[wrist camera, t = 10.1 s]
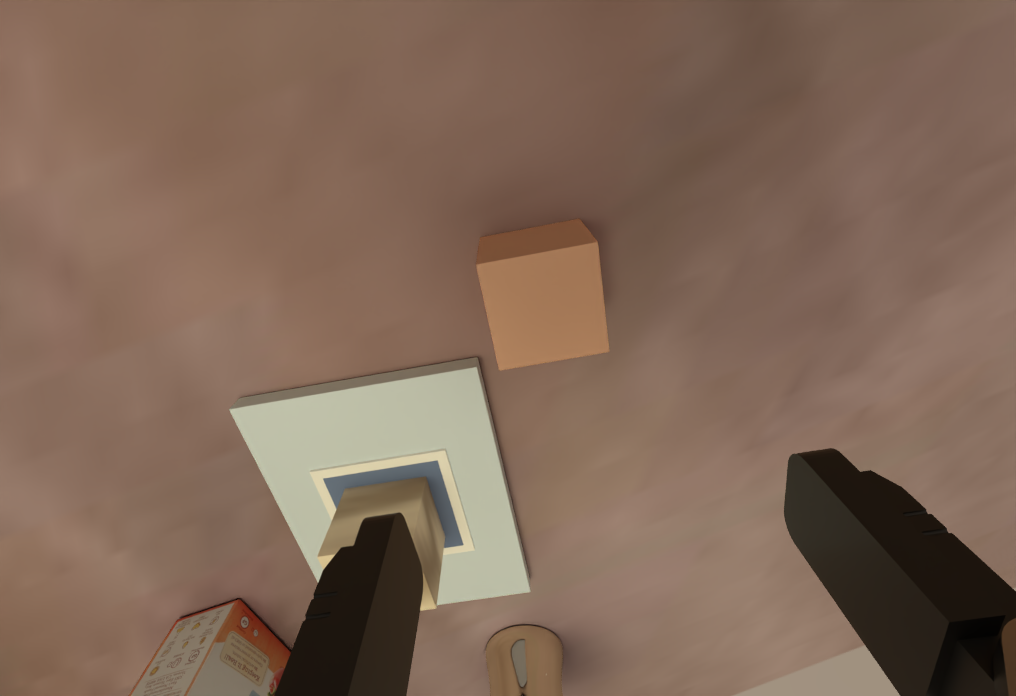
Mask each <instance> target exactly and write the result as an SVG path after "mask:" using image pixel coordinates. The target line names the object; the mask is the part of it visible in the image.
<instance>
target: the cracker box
mask: <svg viewBox="0 0 1016 696" xmlns="http://www.w3.org/2000/svg"><path fill="white" fill-rule="evenodd" d="M290 654H291V652H290V651H289V650H288V649H287V648H286V647H285V646H284V645H283V644H282V643H281V642H280V641H279V640H278V639H277V638H276V637H275V636H274V634H273V633H272V632H271V631H270V630H269V629H268V628H267V627H266V626H265V625H264V624H263V623H262V622H261V621H260V620H259V619H258V618H257V617H256V616H255V615H254V614H253V613H252V611H251V610H250V609H249V608H248V607H247V606H246V605H245V604H244V603H243V602H242V601H241V600H239V599H238V600H235V601H232V602H229V603H226V604H223V605H220V606H217V607H214V608H211V609H208V610H205V611H202V612H199V613H196V614H193V615H190V616H187V617H184V618H181V619H178V620H177V621H176V622H175V624H174V625H173V627H172V628H171V630H170V631H169V633H168V634H167V636H166V637H165V639H164V640H163V642H162V644H161V645H160V647H159V648H158V650H157V651H156V653H155V655H154V656H153V658H152V659H151V661H150V662H149V664H148V666H147V667H146V669H145V670H144V672H143V673H142V675H141V677H140V678H139V680H138V681H137V683H136V684H135V686H134V687H133V689H132V691H131V692H130V694H129V695H128V696H274V695H275V692H276V689H277V687H278V684H279V682H280V679H281V677H282V674H283V672H284V669H285V666H286V664H287V661H288V659H289V656H290Z"/></svg>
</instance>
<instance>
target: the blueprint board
mask: <svg viewBox="0 0 1016 696" xmlns="http://www.w3.org/2000/svg"><path fill="white" fill-rule="evenodd" d="M229 410H230V412H231V414H232V416H233V418H234V420H235V422H236V424H237V426H238V428H239V430H240V432H241V434H242V436H243V437H244V439H245V441H246V443H247V445H248V447H249V449H250V451H251V453H252V455H253V457H254V459H255V461H256V463H257V465H258V467H259V469H260V471H261V473H262V474H263V476H264V478H265V480H266V482H267V484H268V486H269V488H270V490H271V492H272V494H273V496H274V498H275V500H276V502H277V504H278V506H279V508H280V509H281V511H282V513H283V515H284V517H285V519H286V521H287V523H288V525H289V527H290V529H291V531H292V533H293V535H294V537H295V539H296V541H297V543H298V545H299V546H300V548H301V550H302V552H303V554H304V556H305V558H306V560H307V562H308V564H309V566H310V568H311V570H312V572H313V574H314V576H315V578H316V580H317V581H318V582H319V579H320V577H321V574H322V572H323V568H322V566H321V564H320V562H319V560H318V558H317V556H318V553H319V551H320V548H321V546H322V544H323V541H324V539H325V536H326V534H327V531H328V529H329V527H330V524H331V522H332V519H333V517H334V514H335V512H336V510H337V507H338V505H339V502H340V500H341V497H342V495H343V492H344V490H345V489H347V488H353V487H360V486H366V485H373V484H379V483H386V482H392V481H399V480H405V479H412V478H419V477H425V476H426V478H427V481H428V484H429V487H430V490H431V494H432V497H433V500H434V503H435V506H436V509H437V512H438V515H439V519H440V522H441V525H442V528H443V531H444V534H445V543H444V551H443V559H442V567H441V575H440V583H439V591H438V599H437V605H441V604H448V603H455V602H462V601H469V600H476V599H484V598H491V597H498V596H505V595H512V594H519V593H526V592H530V577H529V573H528V569H527V564H526V560H525V556H524V552H523V547H522V543H521V539H520V535H519V530H518V526H517V522H516V518H515V513H514V509H513V505H512V501H511V496H510V492H509V488H508V484H507V480H506V475H505V471H504V467H503V463H502V458H501V454H500V450H499V446H498V441H497V437H496V433H495V429H494V424H493V420H492V416H491V412H490V407H489V403H488V399H487V395H486V391H485V386H484V382H483V378H482V374H481V369H480V365H479V361H478V357H475V358H469V359H463V360H457V361H451V362H445V363H440V364H434V365H428V366H422V367H416V368H411V369H405V370H399V371H393V372H387V373H382V374H376V375H370V376H364V377H358V378H353V379H347V380H341V381H335V382H329V383H324V384H318V385H312V386H306V387H300V388H295V389H289V390H283V391H277V392H271V393H266V394H260V395H254V396H248V397H242V398H239V399H238V400H237V401H236V402H235V403H234V405H233V406H232V407H231V408H230V409H229Z"/></svg>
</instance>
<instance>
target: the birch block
mask: <svg viewBox="0 0 1016 696" xmlns="http://www.w3.org/2000/svg"><path fill="white" fill-rule="evenodd" d="M398 512H400V513H402V514H403V516H404V518H405V520H406V523H407V526H408V529H409V531H410V534H411V537H412V540H413V542H414V545H415V548H416V551H417V553H418V556H419V559H420V562H421V566H422V571H423V595H422V601H421V607H420V611H421V610H428V609H436V607H437V599H438V591H439V583H440V575H441V567H442V559H443V551H444V543H445V534H444V531H443V528H442V525H441V522H440V519H439V515H438V512H437V509H436V506H435V503H434V500H433V497H432V494H431V490H430V487H429V484H428V481H427V478H426V476H425V477H419V478H412V479H405V480H399V481H392V482H386V483H379V484H373V485H366V486H360V487H353V488H347V489H345V490H344V492H343V495H342V497H341V500H340V502H339V505H338V507H337V510H336V512H335V514H334V517H333V519H332V522H331V524H330V527H329V529H328V531H327V534H326V536H325V539H324V541H323V544H322V546H321V548H320V551H319V553H318V556H317V558H318V560H319V562H320V564H321V566H322V568H323V570H324V568H325V567H326V566H327V564H328V563H329V562H330V561H331V559H332V558H333V557H334V556H335V554H336V553H337V552H338V551H339V549H340V548H341V547H346V546H353V545H354V543H355V540H356V537H357V534H358V531H359V528H360V525H361V523H362V521H363V519H364V518H366V517H372V516H379V515H385V514H392V513H398Z"/></svg>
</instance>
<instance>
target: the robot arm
mask: <svg viewBox="0 0 1016 696" xmlns="http://www.w3.org/2000/svg"><path fill="white" fill-rule="evenodd" d="M784 516H785V522H786V525H787V528H788V531H789V534H790V536H791V538H792V540H793V541H794V543H795V545H796V546H797V547H798V549H799V550H800V552H801V553H802V555H803V556H804V558H805V559H806V560H807V562H808V563H809V565H810V566H811V568H812V569H813V571H814V572H815V573H816V575H817V576H818V578H819V579H820V581H821V582H822V583H823V585H824V586H825V588H826V589H827V591H828V592H829V594H830V595H831V596H832V598H833V599H834V601H835V602H836V604H837V605H838V607H839V608H840V609H841V611H842V612H843V614H844V615H845V617H846V618H847V619H848V621H849V622H850V624H851V625H852V627H853V628H854V630H855V631H856V632H857V634H858V635H859V637H860V638H861V640H862V641H863V643H864V644H865V645H866V647H867V648H868V650H869V651H870V653H871V654H872V655H873V657H874V658H875V660H876V661H877V663H878V664H879V666H880V667H881V668H882V670H883V671H884V673H885V674H886V676H887V677H888V679H889V680H890V681H891V683H892V684H893V686H894V687H895V689H896V690H897V691H898V693H899V694H900V696H1016V591H1015V590H1014V589H1012V588H1011V587H1010V586H1009V585H1008V584H1007V583H1006V582H1005V581H1004V580H1003V579H1002V578H1000V577H999V576H998V575H997V574H996V573H995V572H994V571H993V570H992V569H991V568H990V567H988V566H987V565H986V564H985V563H984V562H983V561H982V560H981V559H980V558H979V557H978V556H976V555H975V554H974V553H973V552H972V551H971V550H970V549H969V548H968V547H967V546H966V545H964V544H963V543H962V542H961V541H960V540H959V539H958V538H957V537H956V536H955V535H954V534H952V533H948V532H947V528H946V527H945V526H944V525H943V524H942V523H940V522H939V521H938V520H937V519H936V518H935V517H934V516H933V515H932V514H928V513H927V512H926V509H925V508H924V507H923V506H922V505H921V504H920V503H919V502H918V501H916V500H915V499H914V498H913V497H912V496H911V495H910V494H909V493H908V492H907V491H906V490H904V489H903V488H902V487H900V486H899V485H897V484H895V483H893V482H891V481H889V480H888V479H886V478H884V477H882V476H880V475H878V474H876V473H875V472H873V471H871V470H870V471H863V472H860V471H859V470H858V469H857V468H856V467H855V466H854V465H853V464H852V463H851V462H850V461H849V460H848V459H847V458H845V457H844V456H843V455H842V454H841V453H840V452H839V451H837V450H836V449H832V448H830V449H823V450H817V451H810V452H803V453H797V454H792V455H791V456H790V458H789V460H788V469H787V481H786V493H785V504H784ZM422 595H423V571H422V566H421V562H420V559H419V556H418V553H417V551H416V548H415V545H414V542H413V540H412V537H411V534H410V531H409V529H408V526H407V523H406V520H405V518H404V516H403V514H402V513H400V512H398V513H392V514H385V515H379V516H372V517H366V518H364V519H363V521H362V523H361V525H360V528H359V531H358V534H357V537H356V540H355V543H354V545H353V546H346V547H341V548H340V549H339V551H338V552H337V553H336V554H335V556H334V557H333V558H332V559H331V561H330V562H329V563H328V564H327V566H326V567H325V568H324V570H323V572H322V574H321V577H320V579H319V582H318V585H317V587H316V590H315V592H314V599H313V600H311V602H310V605H309V608H308V610H307V613H306V615H305V616H306V620H305V621H303V623H302V626H301V628H300V631H299V633H298V636H297V638H296V641H295V643H294V646H293V649H292V651H291V654H290V656H289V659H288V661H287V664H286V666H285V669H284V672H283V674H282V677H281V679H280V682H279V684H278V687H277V689H276V692H275V695H274V696H406V694H407V688H408V681H409V675H410V669H411V663H412V657H413V651H414V644H415V638H416V632H417V626H418V620H419V613H420V607H421V601H422Z"/></svg>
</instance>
